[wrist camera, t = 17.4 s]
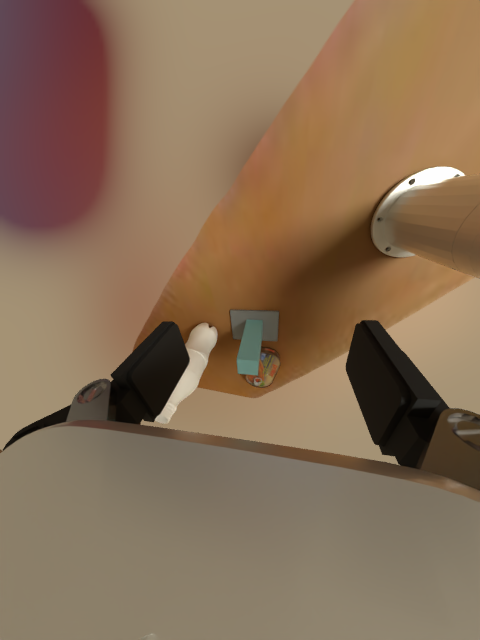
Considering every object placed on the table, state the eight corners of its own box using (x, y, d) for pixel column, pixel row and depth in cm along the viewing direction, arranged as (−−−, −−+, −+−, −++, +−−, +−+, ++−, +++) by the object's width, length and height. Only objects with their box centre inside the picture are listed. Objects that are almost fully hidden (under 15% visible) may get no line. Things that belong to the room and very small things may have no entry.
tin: (253, 349, 48) (284, 358, 47) (255, 341, 51) (285, 351, 50) (242, 383, 57) (268, 392, 56) (244, 375, 59) (269, 383, 58)
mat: (278, 310, 44) (278, 311, 43) (277, 339, 48) (277, 341, 48) (230, 309, 46) (230, 310, 45) (233, 337, 51) (233, 339, 50)
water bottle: (206, 315, 48) (152, 401, 27) (225, 332, 50) (189, 424, 30) (190, 328, 51) (132, 413, 31) (208, 344, 54) (166, 433, 33)
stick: (262, 333, 47) (257, 375, 36) (247, 332, 48) (238, 373, 36) (262, 320, 45) (257, 360, 34) (246, 319, 46) (236, 359, 34)
